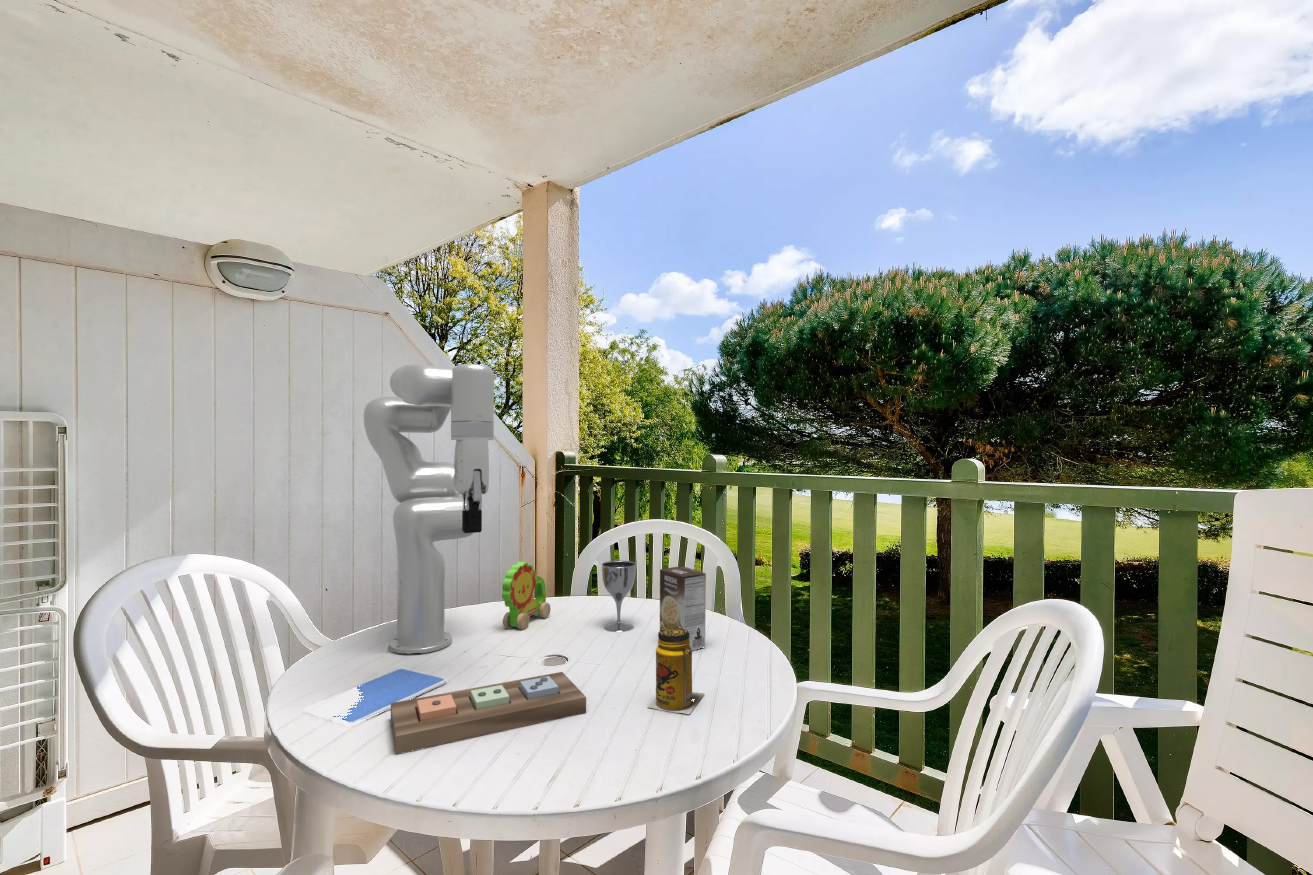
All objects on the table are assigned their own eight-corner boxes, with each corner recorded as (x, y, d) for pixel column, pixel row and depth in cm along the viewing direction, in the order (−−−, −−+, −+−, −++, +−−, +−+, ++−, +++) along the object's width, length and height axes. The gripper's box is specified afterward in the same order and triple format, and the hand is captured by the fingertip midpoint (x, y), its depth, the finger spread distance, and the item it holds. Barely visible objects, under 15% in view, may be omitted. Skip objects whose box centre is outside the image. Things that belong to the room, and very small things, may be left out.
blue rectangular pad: (350, 731, 89) (350, 723, 89) (299, 714, 95) (299, 706, 95) (448, 685, 107) (448, 678, 107) (400, 673, 112) (400, 666, 112)
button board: (390, 719, 92) (390, 702, 92) (562, 685, 105) (562, 671, 105) (396, 754, 82) (396, 736, 82) (586, 712, 95) (586, 696, 95)
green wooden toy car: (533, 614, 151) (533, 554, 151) (551, 616, 149) (552, 556, 149) (495, 632, 136) (495, 566, 136) (515, 634, 134) (515, 567, 135)
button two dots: (470, 709, 95) (470, 689, 95) (501, 703, 97) (501, 683, 97) (476, 722, 90) (476, 701, 90) (509, 715, 92) (509, 694, 93)
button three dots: (520, 699, 98) (520, 680, 98) (549, 693, 101) (549, 674, 101) (528, 711, 94) (528, 691, 94) (558, 705, 96) (558, 685, 96)
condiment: (646, 708, 96) (646, 634, 97) (665, 688, 104) (665, 620, 104) (689, 715, 94) (689, 639, 94) (704, 695, 102) (704, 625, 102)
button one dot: (416, 719, 91) (417, 699, 91) (450, 713, 93) (451, 692, 93) (420, 733, 86) (420, 711, 87) (455, 726, 89) (456, 705, 89)
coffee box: (658, 642, 129) (658, 568, 129) (681, 636, 133) (681, 565, 133) (683, 654, 122) (683, 576, 122) (707, 648, 125) (707, 572, 125)
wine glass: (606, 621, 144) (606, 560, 145) (638, 622, 143) (638, 560, 144) (598, 631, 137) (598, 566, 137) (632, 632, 135) (632, 567, 136)
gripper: (445, 432, 113) (444, 528, 113) (457, 430, 100) (457, 539, 100) (485, 433, 117) (484, 526, 117) (502, 431, 104) (501, 536, 103)
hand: (471, 531), depth 108 cm, fingers closed
